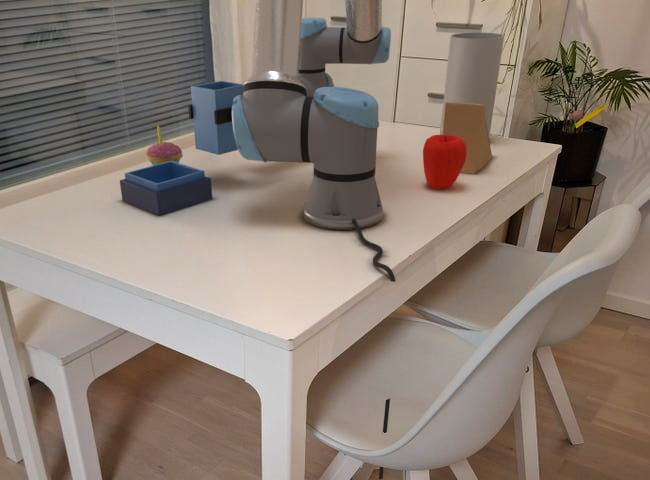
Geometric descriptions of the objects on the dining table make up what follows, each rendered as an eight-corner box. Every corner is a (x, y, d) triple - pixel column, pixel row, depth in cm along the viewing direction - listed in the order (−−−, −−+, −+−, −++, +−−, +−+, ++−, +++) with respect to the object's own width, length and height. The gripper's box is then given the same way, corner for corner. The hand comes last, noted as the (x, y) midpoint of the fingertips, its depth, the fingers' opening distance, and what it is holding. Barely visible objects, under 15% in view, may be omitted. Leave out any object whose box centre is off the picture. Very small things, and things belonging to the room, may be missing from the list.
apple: (467, 183, 147) (474, 133, 141) (453, 195, 141) (459, 142, 135) (428, 178, 151) (433, 128, 145) (413, 189, 145) (417, 137, 139)
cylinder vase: (491, 147, 171) (508, 38, 157) (440, 146, 173) (453, 39, 159) (485, 134, 181) (500, 32, 168) (437, 134, 183) (448, 32, 170)
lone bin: (224, 141, 154) (221, 80, 147) (248, 147, 149) (245, 84, 142) (195, 148, 149) (190, 86, 142) (218, 155, 144) (214, 90, 137)
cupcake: (177, 179, 156) (172, 126, 150) (143, 178, 158) (136, 125, 152) (188, 168, 164) (183, 117, 157) (154, 167, 165) (149, 116, 159)
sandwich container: (493, 157, 163) (504, 91, 155) (475, 174, 152) (484, 104, 144) (458, 153, 167) (466, 89, 159) (438, 169, 156) (445, 101, 148)
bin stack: (174, 185, 152) (172, 159, 149) (212, 198, 144) (210, 170, 141) (122, 200, 145) (118, 173, 141) (159, 215, 136) (155, 186, 133)
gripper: (312, 121, 150) (235, 141, 137) (249, 109, 164) (174, 125, 151) (312, 85, 146) (233, 102, 133) (248, 76, 160) (171, 90, 147)
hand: (202, 114), depth 142 cm, fingers closed on lone bin, 8 cm apart
